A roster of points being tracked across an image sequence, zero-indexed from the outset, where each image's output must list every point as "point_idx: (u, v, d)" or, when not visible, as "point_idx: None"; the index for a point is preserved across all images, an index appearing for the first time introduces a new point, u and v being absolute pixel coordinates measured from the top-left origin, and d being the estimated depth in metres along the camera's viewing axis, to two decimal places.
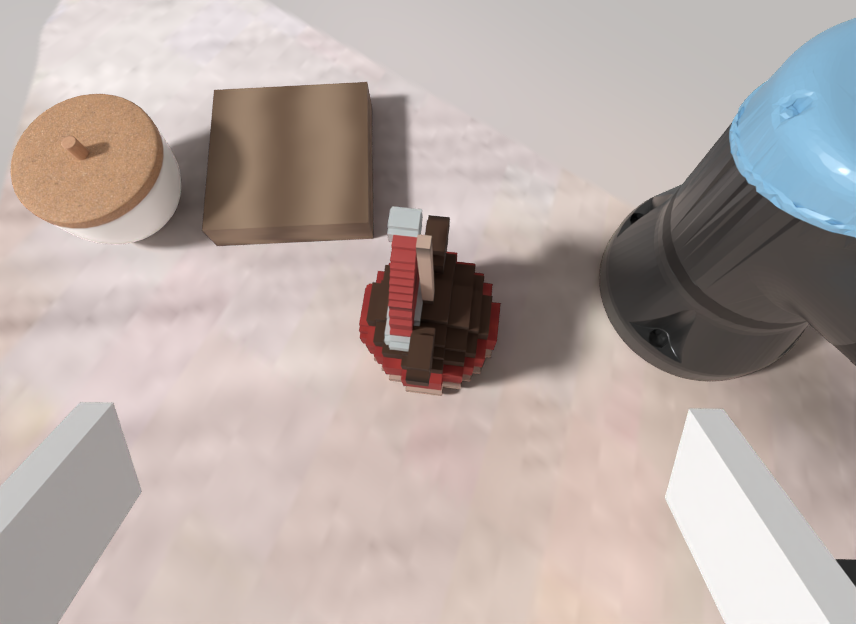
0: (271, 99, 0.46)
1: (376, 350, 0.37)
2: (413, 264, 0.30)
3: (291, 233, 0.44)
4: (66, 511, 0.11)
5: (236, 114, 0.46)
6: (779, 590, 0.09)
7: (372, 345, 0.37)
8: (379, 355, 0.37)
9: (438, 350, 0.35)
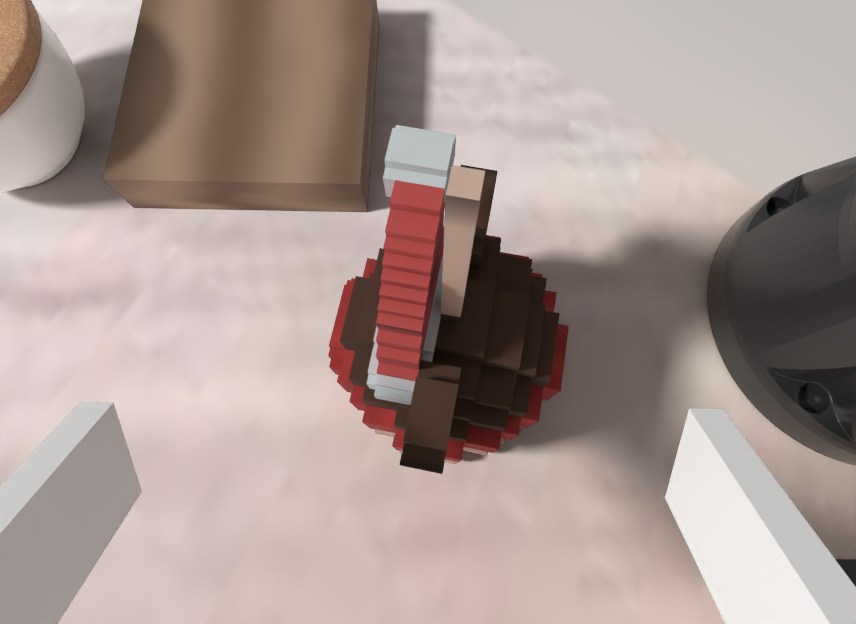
0: None
1: (354, 392, 0.22)
2: (432, 243, 0.15)
3: (242, 194, 0.29)
4: (66, 511, 0.11)
5: (176, 13, 0.31)
6: (779, 590, 0.09)
7: (348, 383, 0.22)
8: (358, 401, 0.22)
9: (462, 404, 0.19)
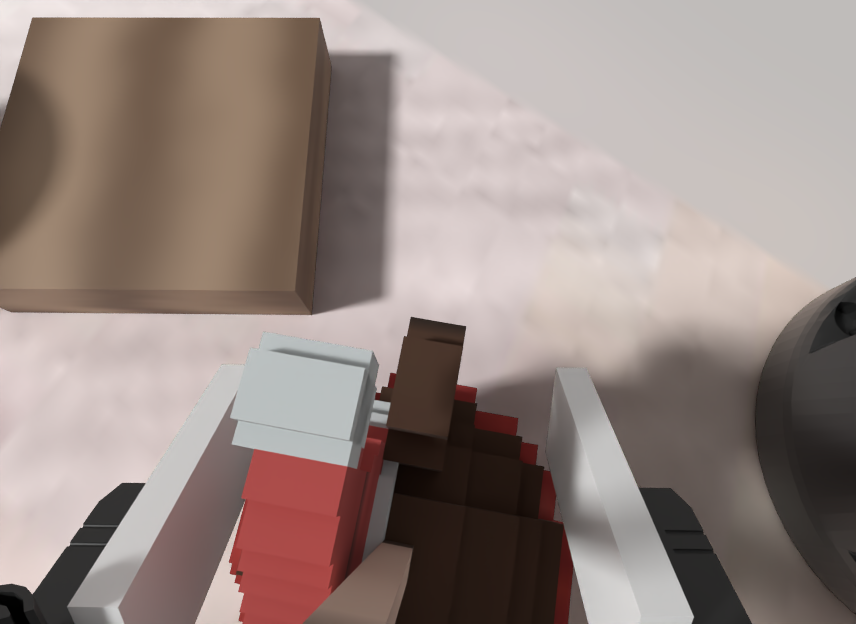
0: (136, 40, 0.25)
1: None
2: None
3: (144, 300, 0.22)
4: (227, 456, 0.12)
5: (66, 63, 0.24)
6: (592, 511, 0.10)
7: None
8: None
9: None
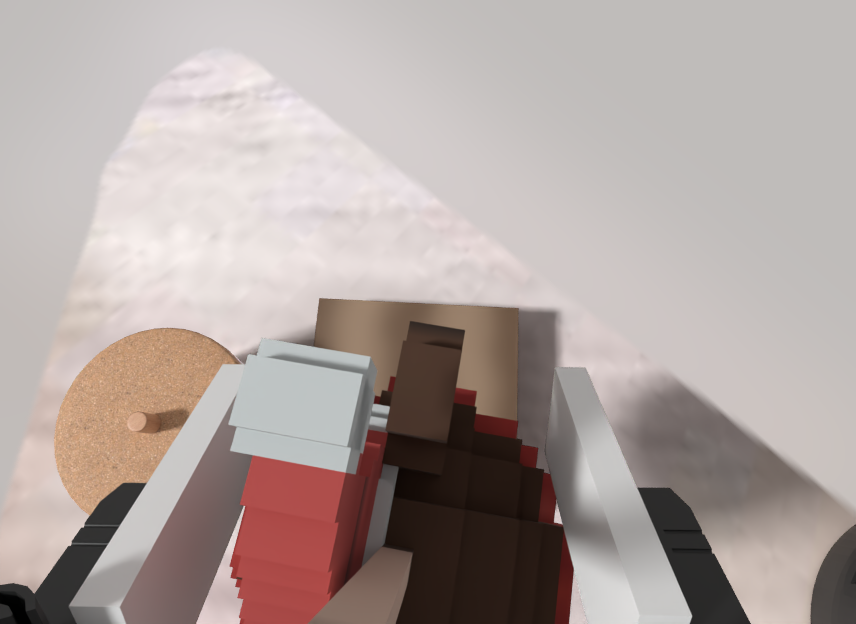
0: (393, 320, 0.36)
1: None
2: None
3: None
4: (228, 456, 0.12)
5: (346, 337, 0.35)
6: (591, 510, 0.10)
7: None
8: None
9: None
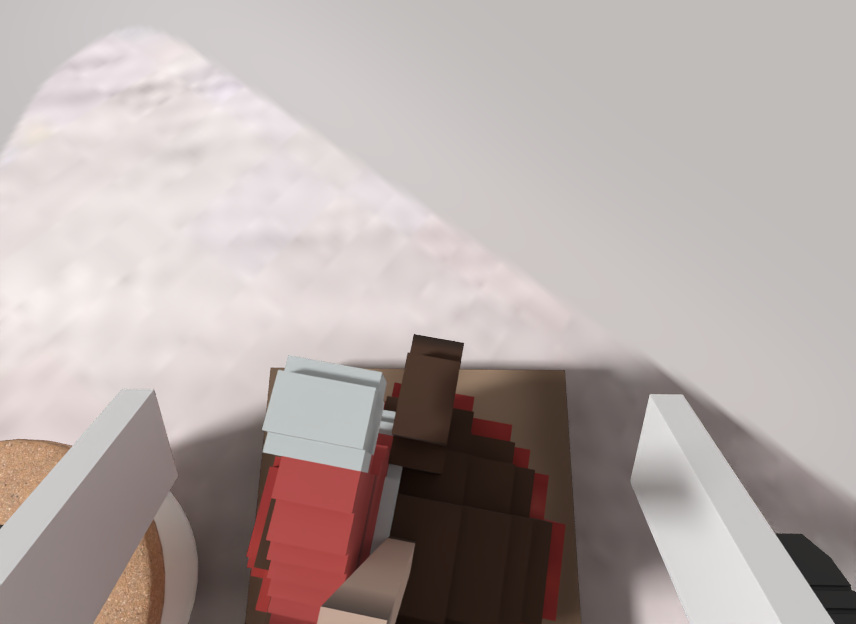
0: None
1: None
2: None
3: None
4: (115, 491, 0.11)
5: None
6: (722, 561, 0.09)
7: None
8: None
9: None
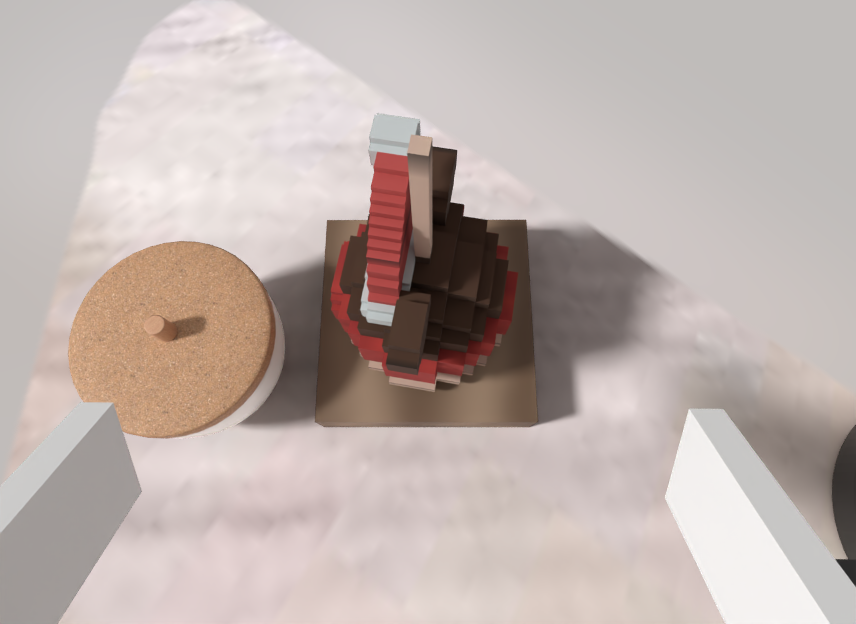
0: None
1: (351, 326, 0.28)
2: (404, 196, 0.21)
3: (428, 424, 0.33)
4: (66, 511, 0.11)
5: None
6: (779, 590, 0.09)
7: (346, 319, 0.28)
8: (355, 332, 0.28)
9: (433, 327, 0.26)
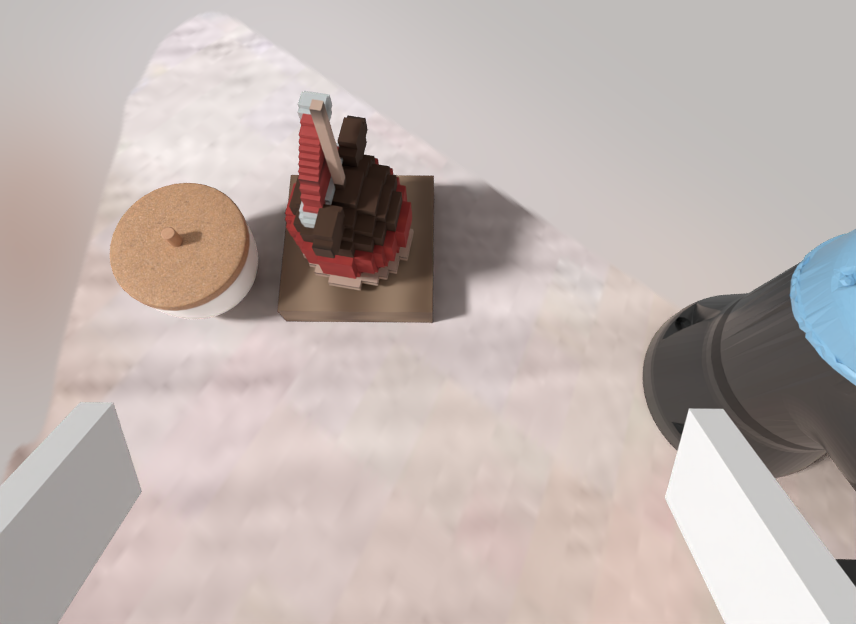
0: None
1: (297, 235, 0.42)
2: (318, 140, 0.35)
3: (358, 316, 0.48)
4: (66, 511, 0.11)
5: None
6: (779, 590, 0.09)
7: (294, 231, 0.42)
8: (300, 239, 0.42)
9: (347, 232, 0.40)
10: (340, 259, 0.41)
